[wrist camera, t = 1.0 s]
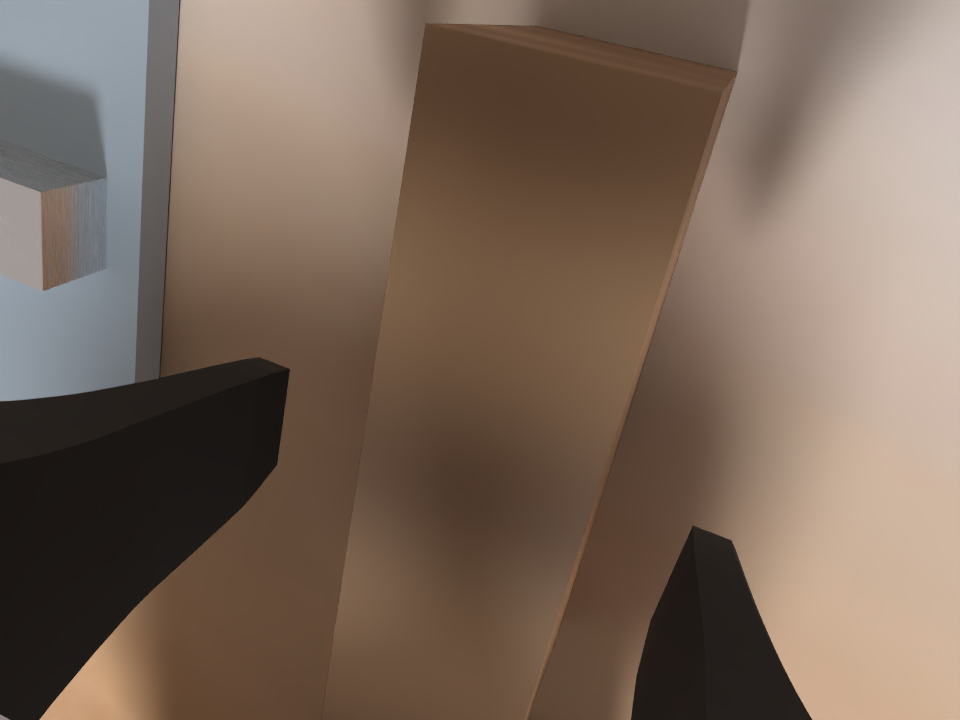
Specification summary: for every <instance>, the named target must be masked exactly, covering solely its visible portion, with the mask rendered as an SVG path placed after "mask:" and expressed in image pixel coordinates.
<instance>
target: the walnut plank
mask: <svg viewBox="0 0 960 720" xmlns="http://www.w3.org/2000/svg"><path fill="white" fill-rule="evenodd" d="M736 74H737V72H735V71H731V70H726V69H722V68H718V67H713V66H709V65H705V64H700V63H696V62H691V61H687V60H683V59H678V58H674V57H670V56H665V55H661V54H656V53H652V52H648V51H643V50H639V49H635V48H630V47H626V46H621V45H617V44H613V43H608V42H604V41H600V40H595V39H591V38H586V37H582V36H578V35H573V34H569V33H565V32H560V31H556V30H551V29H547V28H543V27H538V26H512V25H471V24H429V23H426V25H425V32H424V39H423V45H422V52H421V59H420V65H419V72H418V78H417V85H416V92H415V98H414V105H413V112H412V118H411V125H410V132H409V138H408V145H407V152H406V158H405V165H404V171H403V178H402V185H401V191H400V198H399V205H398V211H397V218H396V225H395V231H394V238H393V245H392V251H391V258H390V264H389V271H388V278H387V284H386V291H385V298H384V304H383V311H382V318H381V324H380V331H379V338H378V344H377V351H376V357H375V364H374V371H373V377H372V384H371V391H370V397H369V404H368V411H367V417H366V424H365V431H364V437H363V444H362V450H361V457H360V464H359V470H358V477H357V484H356V490H355V497H354V504H353V510H352V517H351V524H350V530H349V537H348V543H347V550H346V557H345V563H344V570H343V577H342V583H341V590H340V597H339V603H338V610H337V617H336V623H335V630H334V636H333V643H332V650H331V656H330V663H329V670H328V676H327V683H326V690H325V696H324V703H323V710H322V716H321V720H528V717H529V714H530V711H531V709H532V706H533V703H534V700H535V697H536V694H537V691H538V688H539V685H540V682H541V680H542V677H543V674H544V671H545V668H546V665H547V662H548V659H549V656H550V654H551V651H552V648H553V645H554V642H555V639H556V636H557V633H558V630H559V628H560V625H561V622H562V619H563V616H564V613H565V609H566V606H567V603H568V600H569V597H570V594H571V591H572V587H573V584H574V581H575V578H576V575H577V572H578V569H579V566H580V562H581V559H582V556H583V553H584V550H585V547H586V544H587V541H588V537H589V534H590V531H591V528H592V525H593V522H594V519H595V516H596V512H597V509H598V506H599V503H600V500H601V497H602V494H603V490H604V487H605V484H606V481H607V478H608V475H609V472H610V469H611V465H612V462H613V459H614V456H615V453H616V450H617V447H618V444H619V440H620V437H621V434H622V431H623V428H624V425H625V422H626V419H627V415H628V412H629V409H630V406H631V403H632V400H633V397H634V393H635V390H636V387H637V384H638V381H639V378H640V375H641V372H642V368H643V365H644V362H645V359H646V356H647V353H648V350H649V347H650V343H651V340H652V337H653V334H654V331H655V328H656V325H657V322H658V318H659V315H660V312H661V309H662V306H663V303H664V300H665V296H666V293H667V290H668V287H669V284H670V281H671V278H672V275H673V271H674V268H675V265H676V262H677V259H678V256H679V253H680V250H681V246H682V243H683V240H684V237H685V234H686V231H687V228H688V224H689V221H690V218H691V215H692V212H693V209H694V206H695V203H696V199H697V196H698V193H699V190H700V187H701V184H702V181H703V178H704V174H705V171H706V168H707V165H708V162H709V159H710V156H711V153H712V149H713V146H714V143H715V140H716V137H717V134H718V131H719V127H720V124H721V121H722V118H723V115H724V112H725V109H726V106H727V102H728V99H729V96H730V93H731V90H732V87H733V84H734V81H735V77H736Z"/></svg>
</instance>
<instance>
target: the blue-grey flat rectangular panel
mask: <svg viewBox="0 0 960 720" xmlns="http://www.w3.org/2000/svg"><path fill="white" fill-rule="evenodd" d="M178 17H179V0H0V140H2V141H5V142H8V143H11V144H13V145H16V146H19V147H22V148H25V149H28V150H30V151H33V152H36V153H39V154H42V155H45V156H47V157H50V158H53V159H56V160H59V161H62V162H64V163H67V164H70V165H73V166H76V167H79V168H81V169H84V170H87V171H90V172H93V173H96V174H98V175H101V176H104V177H107V224H106V269H104V270H101V271H99V272H96V273H93V274H90V275H87V276H85V277H82V278H79V279H76V280H73V281H71V282H68V283H65V284H62V285H59V286H57V287H54V288H51V289H48V290H46V291H40V290H38V289H35V288H33V287H30V286H28V285H25V284H23V283H20V282H18V281H15V280H13V279H10V278H7V277H5V276H2V275H0V401H14V400H26V399H35V398H44V397H54V396H62V395H70V394H77V393H83V392H90V391H96V390H101V389H106V388H112V387H117V386H122V385H128V384H133V383H138V382H144V381H149V380H154V379H158V378H159V373H160V354H161V335H162V316H163V298H164V279H165V260H166V242H167V223H168V204H169V185H170V167H171V148H172V129H173V111H174V92H175V73H176V54H177V36H178Z"/></svg>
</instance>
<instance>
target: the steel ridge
mask: <svg viewBox="0 0 960 720" xmlns="http://www.w3.org/2000/svg"><path fill="white" fill-rule="evenodd" d="M106 224H107V177H104V176H101V175H98V174H96V173H93V172H90V171H87V170H84V169H81V168H79V167H76V166H73V165H70V164H67V163H64V162H62V161H59V160H56V159H53V158H50V157H47V156H45V155H42V154H39V153H36V152H33V151H30V150H28V149H25V148H22V147H19V146H16V145H13V144H11V143H8V142H5V141H2V140H0V275H2V276H5V277H7V278H10V279H13V280H15V281H18V282H20V283H23V284H25V285H28V286H30V287H33V288H35V289H38V290H40V291H46V290H48V289H51V288H54V287H57V286H59V285H62V284H65V283H68V282H71V281H73V280H76V279H79V278H82V277H85V276H87V275H90V274H93V273H96V272H99V271H101V270H104V269H106Z"/></svg>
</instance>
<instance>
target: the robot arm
mask: <svg viewBox="0 0 960 720" xmlns="http://www.w3.org/2000/svg"><path fill="white" fill-rule="evenodd" d="M289 372H290V369H288V368H285V367H283V366H280V365H278V364H275V363H273V362H270V361H267V360H265V359H262V358H260V357H259V358H252V359H245V360H239V361H234V362H230V363H225V364H220V365H216V366H211V367H207V368H202V369H198V370H194V371H189V372H185V373H180V374H176V375H171V376H167V377H162V378H158V379H154V380H149V381H144V382H138V383H133V384H128V385H122V386H117V387H112V388H106V389H101V390H96V391H90V392H83V393H77V394H70V395H62V396H54V397H44V398H35V399H26V400H14V401H0V720H39V719H40V718H41V717H42V716H43V714H44V713H45V712H46V711H47V709H48V708H49V707H50V705H51V704H52V703H53V702H54V700H55V699H56V698H57V697H58V696H59V694H60V693H61V692H62V691H63V690H64V688H65V687H66V686H67V685H68V684H69V682H70V681H71V680H72V679H73V678H74V677H75V675H76V674H77V673H78V672H79V671H80V669H81V668H82V667H83V666H84V665H85V663H86V662H87V661H88V660H89V659H90V657H91V656H92V655H93V654H94V653H95V652H96V650H97V649H98V648H99V647H100V646H101V645H102V644H103V642H104V641H105V640H106V639H107V638H108V637H109V636H110V635H111V633H112V632H113V631H114V630H115V629H116V628H117V627H118V626H119V624H120V623H121V622H122V621H123V620H124V619H125V618H126V617H127V615H128V614H129V613H130V612H131V611H132V610H133V609H134V608H135V607H136V606H137V605H138V604H139V603H140V602H141V601H142V600H143V599H144V598H145V597H146V596H147V595H148V594H149V593H150V592H151V591H152V590H153V589H154V588H155V587H156V586H157V585H158V584H159V583H160V582H162V581H163V580H164V579H165V578H166V577H167V576H168V575H169V574H170V573H171V572H172V571H174V570H175V569H176V568H177V567H178V566H179V565H180V564H181V563H182V562H183V561H185V560H186V559H187V558H188V557H189V556H190V555H191V554H192V553H193V552H194V551H196V550H197V549H198V548H199V547H200V546H201V545H202V544H203V543H204V542H205V541H207V540H208V539H209V538H210V537H211V536H212V535H213V534H214V533H215V532H216V531H217V530H218V529H220V528H221V527H222V526H223V525H224V524H225V523H226V522H227V521H228V520H229V519H230V518H231V517H232V516H233V515H235V514H236V513H237V512H238V511H239V510H240V509H241V508H242V507H243V506H244V505H245V504H246V502H247V501H248V500H249V499H250V498H251V496H252V495H253V494H254V493H255V492H256V491H257V489H258V488H259V487H260V486H261V484H262V483H263V482H264V481H265V479H266V478H267V477H268V475H269V474H270V473H271V472H272V470H273V469H274V468H275V467H276V465H277V461H278V454H279V446H280V439H281V431H282V424H283V416H284V409H285V402H286V394H287V387H288V379H289ZM631 720H812V718H811V717H810V715H809V714H808V712H807V710H806V708H805V707H804V705H803V703H802V702H801V700H800V698H799V696H798V694H797V693H796V691H795V689H794V687H793V685H792V683H791V681H790V679H789V677H788V675H787V673H786V671H785V669H784V667H783V665H782V663H781V661H780V659H779V657H778V655H777V653H776V651H775V648H774V646H773V644H772V642H771V639H770V637H769V635H768V632H767V630H766V628H765V626H764V623H763V621H762V619H761V616H760V614H759V611H758V609H757V606H756V604H755V601H754V599H753V596H752V594H751V591H750V588H749V586H748V583H747V580H746V578H745V575H744V572H743V569H742V567H741V564H740V561H739V558H738V555H737V552H736V549H735V547H734V545H733V543H732V541H731V540H729V539H726V538H723V537H721V536H718V535H716V534H713V533H711V532H708V531H705V530H703V529H700V528H698V527H695V526H693V527H692V529H691V531H690V534H689V536H688V538H687V540H686V542H685V545H684V547H683V549H682V551H681V554H680V556H679V558H678V560H677V563H676V565H675V567H674V569H673V572H672V574H671V576H670V578H669V581H668V583H667V585H666V587H665V590H664V592H663V594H662V596H661V599H660V601H659V603H658V605H657V608H656V610H655V612H654V614H653V617H652V619H651V622H650V625H649V629H648V633H647V637H646V641H645V645H644V649H643V653H642V657H641V661H640V665H639V669H638V673H637V678H636V685H635V693H634V701H633V709H632V717H631Z"/></svg>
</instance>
